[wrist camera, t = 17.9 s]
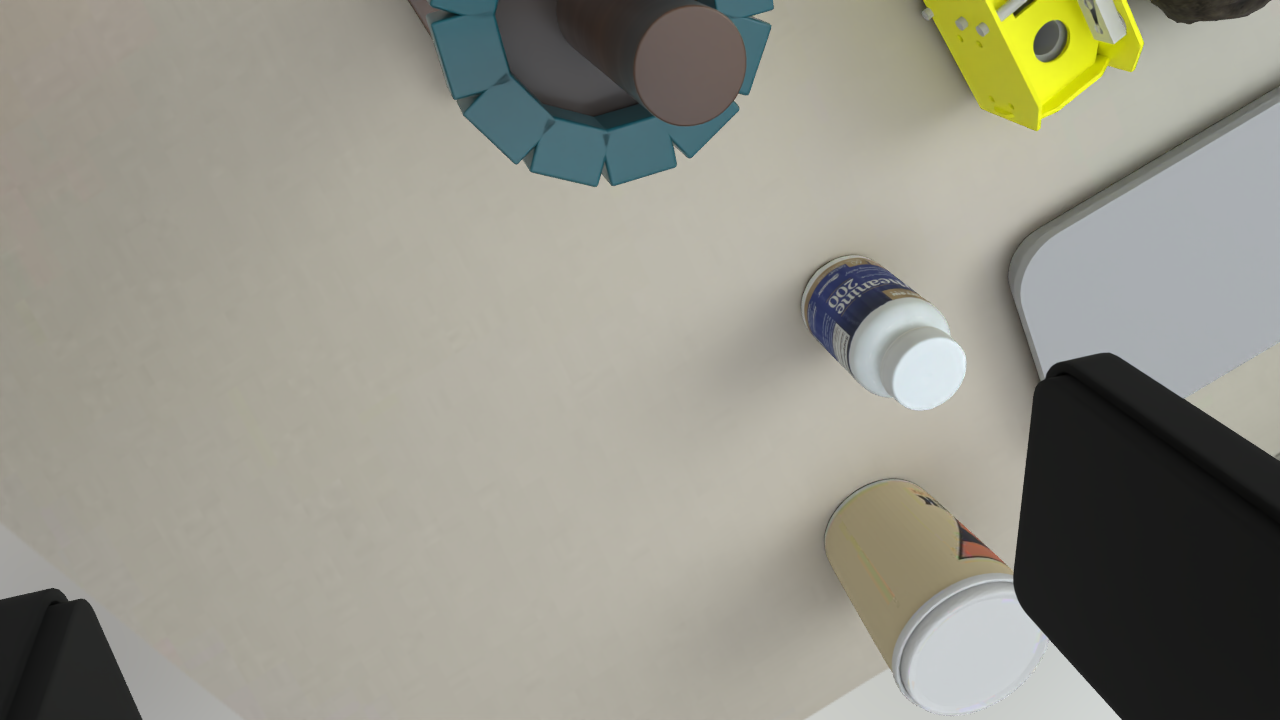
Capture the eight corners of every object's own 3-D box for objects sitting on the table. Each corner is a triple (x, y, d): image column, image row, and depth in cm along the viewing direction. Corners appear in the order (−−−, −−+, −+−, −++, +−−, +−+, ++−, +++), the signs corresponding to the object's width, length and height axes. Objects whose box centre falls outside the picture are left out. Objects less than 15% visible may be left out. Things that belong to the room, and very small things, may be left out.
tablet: (985, 248, 58) (1007, 262, 56) (1373, 18, 58) (1409, 24, 57) (1050, 446, 67) (1072, 464, 65) (1391, 244, 67) (1423, 256, 65)
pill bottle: (879, 239, 56) (975, 307, 48) (891, 321, 59) (984, 400, 51) (790, 271, 56) (871, 347, 47) (806, 353, 58) (886, 439, 50)
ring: (484, 205, 29) (491, 224, 27) (380, -130, 25) (383, -129, 23) (771, 119, 30) (792, 133, 29) (720, -216, 26) (742, -219, 24)
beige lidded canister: (963, 531, 68) (1076, 655, 58) (847, 610, 68) (939, 746, 58) (911, 440, 63) (1024, 556, 53) (787, 525, 64) (875, 657, 53)
